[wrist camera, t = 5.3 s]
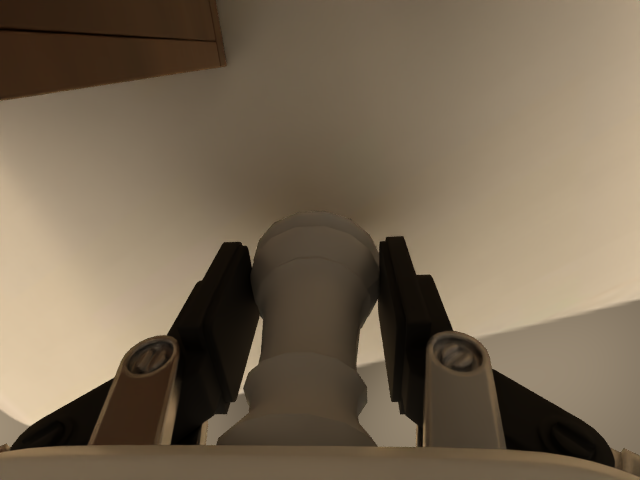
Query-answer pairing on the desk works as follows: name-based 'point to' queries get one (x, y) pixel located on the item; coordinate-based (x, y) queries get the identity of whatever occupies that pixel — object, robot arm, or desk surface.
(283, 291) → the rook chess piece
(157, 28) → the chest
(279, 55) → the desk surface
